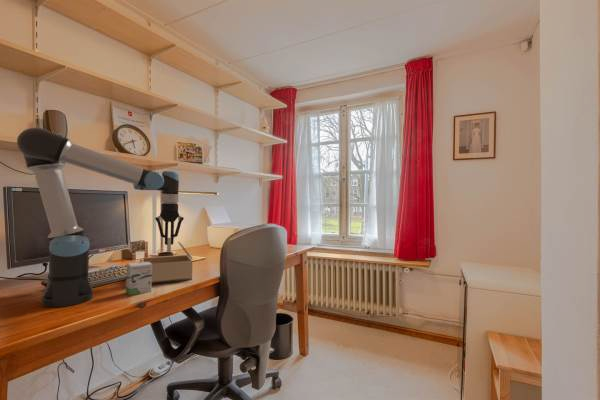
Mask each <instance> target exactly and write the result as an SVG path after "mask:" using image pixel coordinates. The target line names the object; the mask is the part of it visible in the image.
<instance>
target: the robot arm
mask: <svg viewBox="0 0 600 400" xmlns="http://www.w3.org/2000/svg"><path fill="white" fill-rule="evenodd" d="M16 146H17V148H18V149H19V151H20V152H21V153H22V155H23V157H24V162H25V165H26V167H27V170H29V171H31V172H33V174H34V176H35V180H36V183H37V187H38V190H39V193H40V197H41V201H42V204H43V208H44V211H45V213H46V214H45V215H46V218H47V221H48V224H49V228H50V233H49V234H48V236H47V239H48V243H49V246H48V251H49V257H48V258H49V260H48V261H49V262H48V282H47V285H46V288H45V290H44V291H43V294H42V295H41V303H40V304H41V306H43V307H45V308H47V307H48V308H62V307H68V306H74V305H78V304H82V303H85V302H88V301H89V300H92V299H93V297H94V289H93V286H92V284H91V281H90V278H89V265H90V263H89V262H90V261H89V260H90V246H91V244H90V239H89V238H88V237H87V236H86V234H85V230H84V228H83V227H81V226H79V225H78V222H77V218H76V214H75V212H74V208H73V204H72V200H71V196H70V193H69V189H68V186H67V182H66V179H65V178H66V177H65V175H64V172H63V169H64V167H65V166H66V164H69V165H72V166H76V167H79V168H82V169H84V170H89V171H92V172H95V173H97V174H101V175H104V176H108V177H110V178H114V179H116V180H120V181H124V182H126V183H129V184H132V186H133V189H134V190H139V191H158V192H160V191H161V205H160V206H161V209H160V210H161V211H160V214H159V215H158V216H157V217H155V221H156V223H157V226H158V230H159V233H160V237H161V238H164V245H165V246H166V252H172V245H174V240H175V238H177V237H179V232H180V228H181V225H182V222H183V221H184V217H182V216H181V215H180V213H179V187H180V185H179V184H180V177H179V175H180V174H179V173H178V172H177V171H172V170H163V171H162V172H161V173H159V172H158V171H152V170H149V169H146V168H143V167H140V166H138V165H135V164H132V163H129V162H126V161H124V160H122V159H121V160H120V159H117V158H115V157H113V156H109V155H107V154H103V153H101V152H99V151H95V150H92V149H89V148H87V147H84V146H81V145H78V144H75V143H73V142H72V141H71V139H70V138H67V137H64V136H62V135H60V134H57V133H54V132H53V131H50V130H48V129H44V128H40V127H31V128H30V127H29V128H26V129H24V130H23V131H22V132H20V133H19V135H18V136H17V138H16ZM161 220H163V221H164V231H163V227H162V223H161ZM177 220H178V221H177ZM176 221H177V224H176V229H175V222H176ZM169 223H170V237H169Z"/></svg>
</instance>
